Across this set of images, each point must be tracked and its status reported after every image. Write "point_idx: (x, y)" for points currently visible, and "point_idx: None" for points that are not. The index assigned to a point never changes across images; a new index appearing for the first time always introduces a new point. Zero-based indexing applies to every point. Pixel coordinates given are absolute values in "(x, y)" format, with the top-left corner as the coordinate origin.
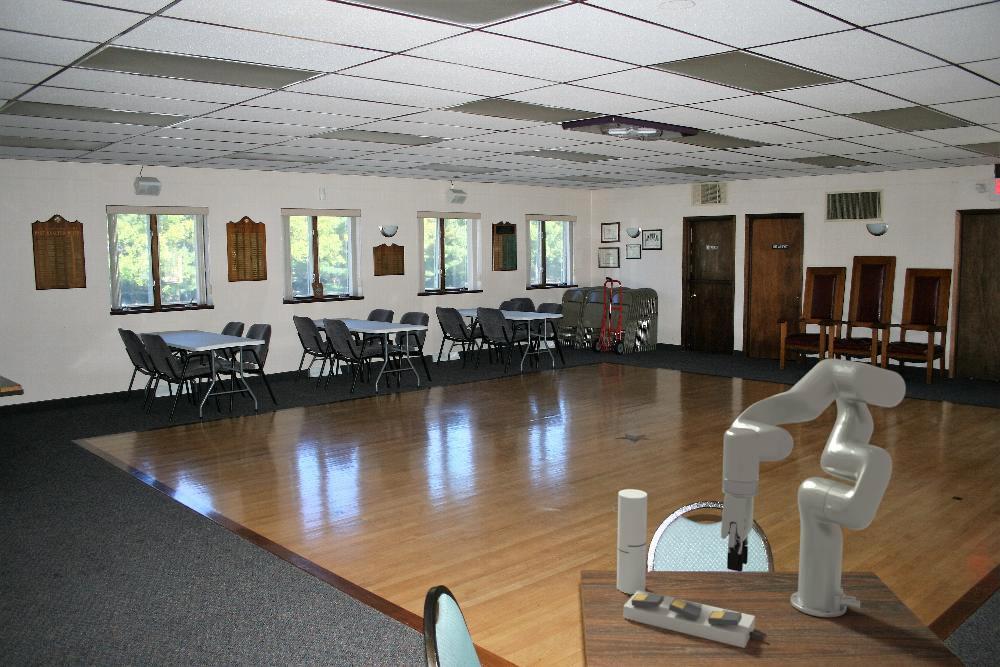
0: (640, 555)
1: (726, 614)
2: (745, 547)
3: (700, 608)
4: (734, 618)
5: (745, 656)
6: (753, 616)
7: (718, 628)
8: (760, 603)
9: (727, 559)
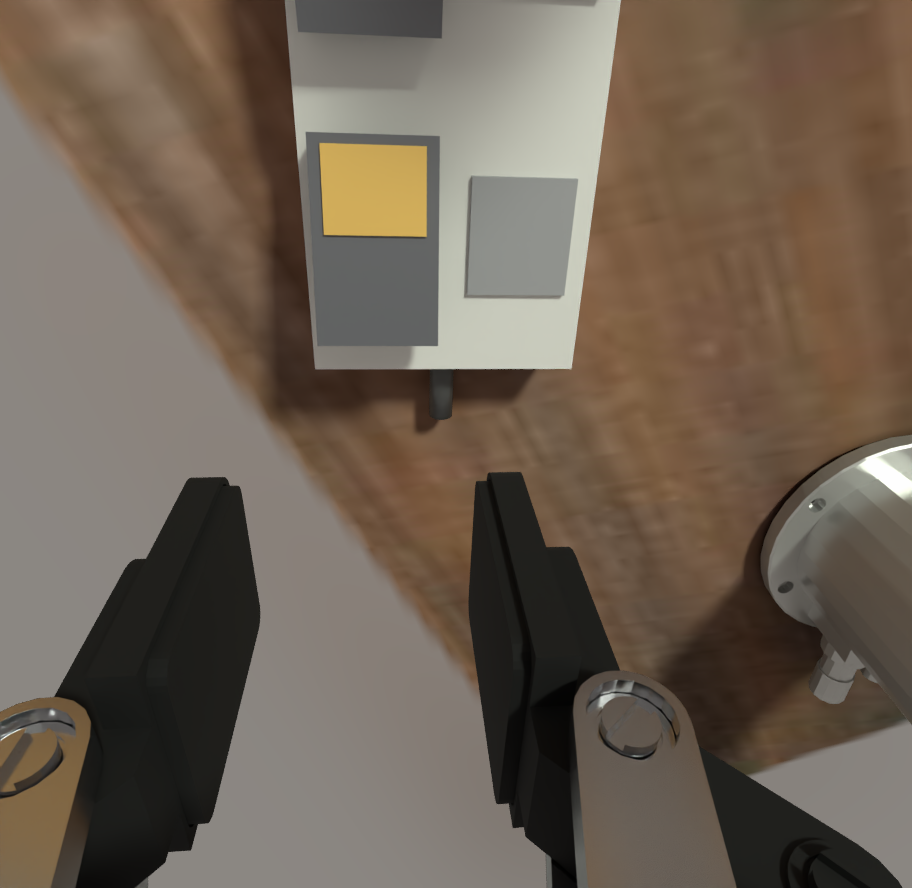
0: None
1: (396, 254)
2: (506, 800)
3: (435, 26)
4: (340, 324)
5: (241, 362)
6: (562, 362)
7: (302, 211)
8: (858, 310)
9: (149, 560)
